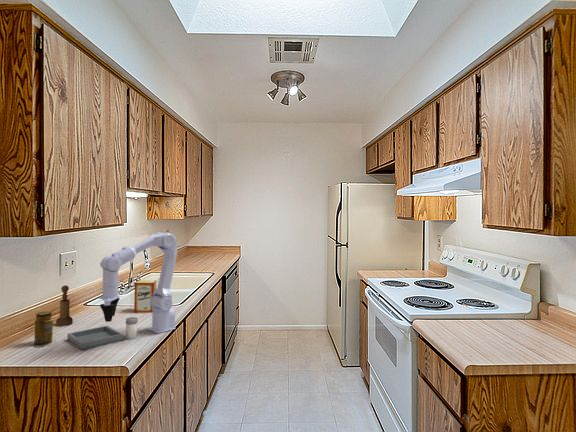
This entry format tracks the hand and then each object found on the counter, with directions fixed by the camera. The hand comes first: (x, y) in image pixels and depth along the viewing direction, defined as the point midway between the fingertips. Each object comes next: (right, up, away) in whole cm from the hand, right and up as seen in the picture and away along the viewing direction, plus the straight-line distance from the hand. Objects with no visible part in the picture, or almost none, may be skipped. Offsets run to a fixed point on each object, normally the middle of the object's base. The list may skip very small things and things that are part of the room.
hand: (110, 318), depth 156 cm
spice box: (-4, -9, +48) cm, 49 cm away
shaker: (+6, -10, +6) cm, 13 cm away
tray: (-7, -9, +2) cm, 12 cm away
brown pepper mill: (-31, -9, +22) cm, 39 cm away
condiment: (-25, -9, -3) cm, 27 cm away
